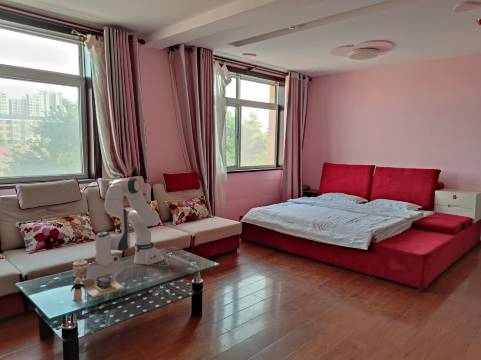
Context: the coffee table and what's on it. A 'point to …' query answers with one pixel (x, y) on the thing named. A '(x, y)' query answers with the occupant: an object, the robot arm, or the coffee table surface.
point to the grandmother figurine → (77, 289)
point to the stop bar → (104, 283)
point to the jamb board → (95, 290)
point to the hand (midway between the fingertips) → (103, 282)
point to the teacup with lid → (80, 268)
